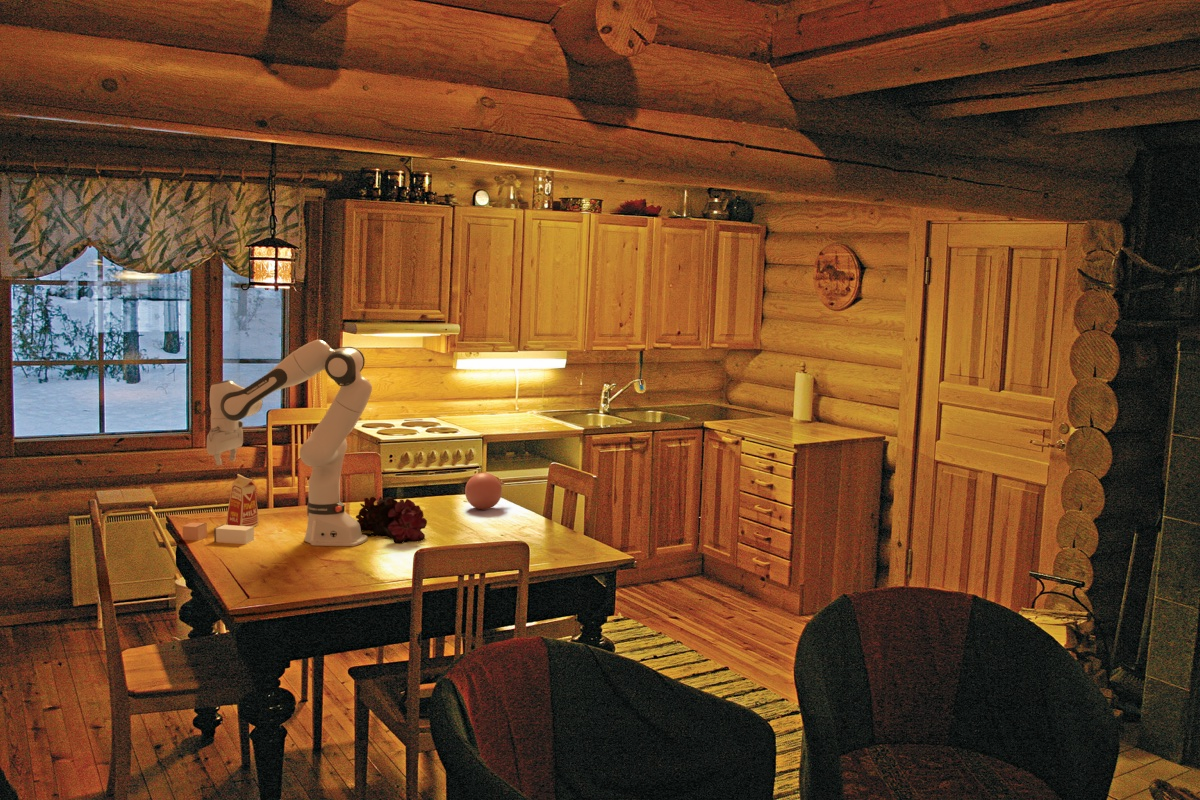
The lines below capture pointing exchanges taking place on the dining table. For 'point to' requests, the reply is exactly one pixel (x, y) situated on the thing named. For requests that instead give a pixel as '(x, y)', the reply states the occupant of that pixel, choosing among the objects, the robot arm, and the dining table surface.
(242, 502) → the milk carton
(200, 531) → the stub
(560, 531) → the dining table surface
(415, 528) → the flower arrangement
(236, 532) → the cream rectangular block
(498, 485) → the balloon
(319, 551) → the dining table surface
